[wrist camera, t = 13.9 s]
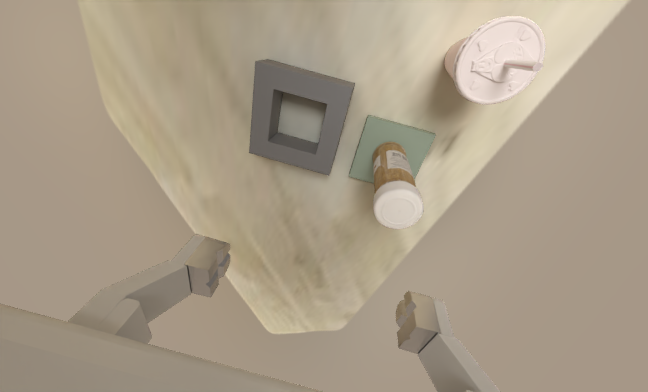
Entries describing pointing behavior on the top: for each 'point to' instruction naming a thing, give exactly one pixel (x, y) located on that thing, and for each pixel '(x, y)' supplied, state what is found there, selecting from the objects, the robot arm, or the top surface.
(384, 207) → the sprinkles bottle
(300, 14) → the top surface
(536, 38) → the smoothie
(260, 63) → the socket block
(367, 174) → the rubber mat
